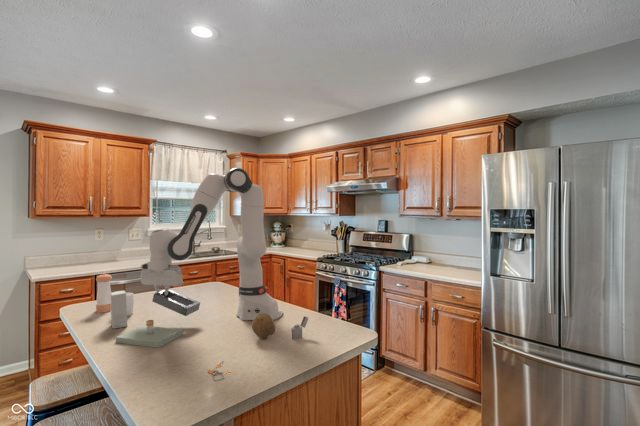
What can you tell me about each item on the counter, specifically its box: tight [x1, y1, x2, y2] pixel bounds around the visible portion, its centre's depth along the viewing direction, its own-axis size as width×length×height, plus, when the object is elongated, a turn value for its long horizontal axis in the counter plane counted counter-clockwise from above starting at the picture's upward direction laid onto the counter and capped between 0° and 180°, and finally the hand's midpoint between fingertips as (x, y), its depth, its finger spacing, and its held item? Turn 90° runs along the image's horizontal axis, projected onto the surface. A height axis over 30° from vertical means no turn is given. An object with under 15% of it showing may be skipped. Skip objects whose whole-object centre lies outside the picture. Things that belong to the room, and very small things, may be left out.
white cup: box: [126, 292, 135, 317], centre depth 170 cm, size 8×8×10 cm
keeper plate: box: [115, 319, 184, 348], centre depth 139 cm, size 20×14×7 cm
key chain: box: [207, 360, 232, 382], centre depth 111 cm, size 13×7×1 cm, turn 29°
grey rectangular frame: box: [152, 289, 201, 317], centre depth 155 cm, size 18×9×4 cm, turn 75°
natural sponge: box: [251, 313, 276, 340], centre depth 138 cm, size 9×9×10 cm
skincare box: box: [110, 290, 128, 329], centre depth 154 cm, size 8×6×15 cm
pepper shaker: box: [95, 272, 113, 313], centre depth 177 cm, size 7×7×19 cm
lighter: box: [291, 315, 309, 341], centre depth 139 cm, size 7×2×8 cm, turn 124°
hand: (162, 295), depth 157 cm, fingers closed on grey rectangular frame, 2 cm apart
